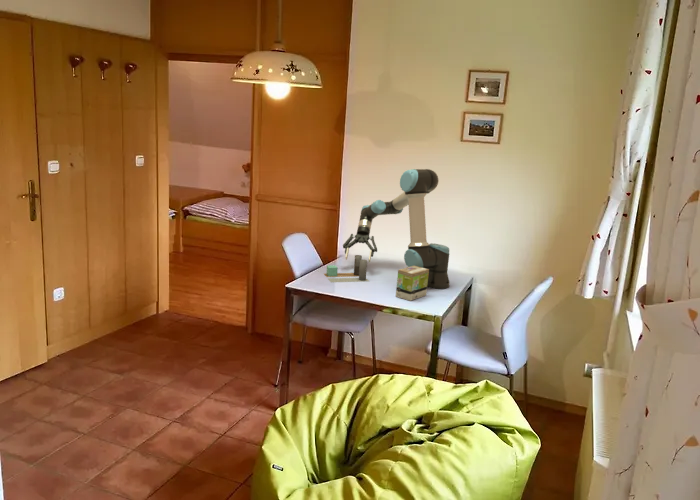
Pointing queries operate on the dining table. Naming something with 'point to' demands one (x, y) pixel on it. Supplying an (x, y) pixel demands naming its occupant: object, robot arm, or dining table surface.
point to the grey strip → (361, 278)
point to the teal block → (332, 270)
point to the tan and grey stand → (356, 269)
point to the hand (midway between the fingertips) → (357, 259)
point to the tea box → (412, 282)
